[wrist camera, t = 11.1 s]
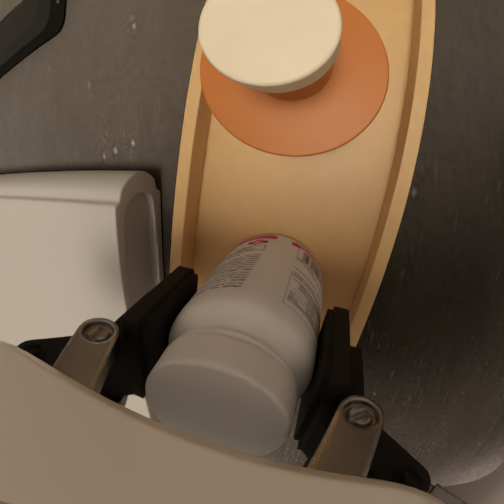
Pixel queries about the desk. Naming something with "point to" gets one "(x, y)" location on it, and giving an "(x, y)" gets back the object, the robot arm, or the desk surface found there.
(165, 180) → the desk surface
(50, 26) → the black remote control
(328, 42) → the amber bottle
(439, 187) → the desk surface
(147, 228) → the book
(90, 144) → the desk surface
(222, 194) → the tray
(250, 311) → the pill bottle
